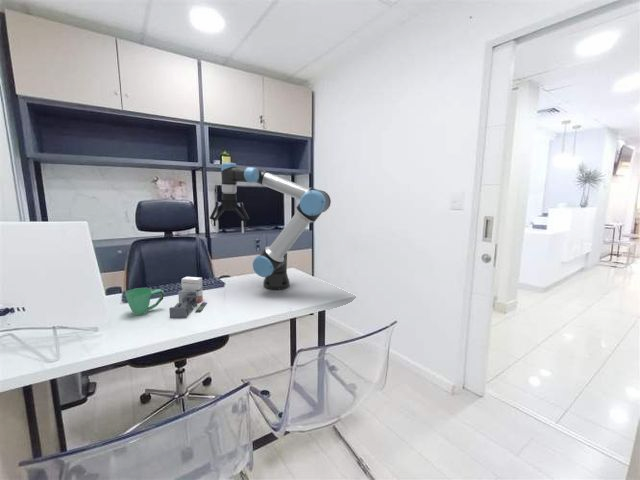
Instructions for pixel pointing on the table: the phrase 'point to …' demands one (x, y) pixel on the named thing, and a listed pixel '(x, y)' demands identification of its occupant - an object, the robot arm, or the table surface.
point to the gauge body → (184, 310)
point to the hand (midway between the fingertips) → (230, 232)
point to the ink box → (192, 285)
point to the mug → (141, 299)
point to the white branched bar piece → (188, 298)
